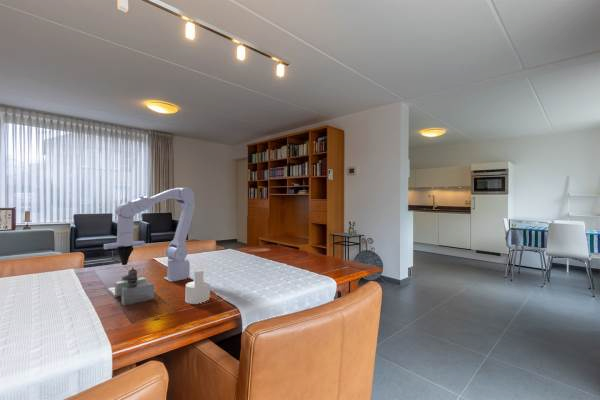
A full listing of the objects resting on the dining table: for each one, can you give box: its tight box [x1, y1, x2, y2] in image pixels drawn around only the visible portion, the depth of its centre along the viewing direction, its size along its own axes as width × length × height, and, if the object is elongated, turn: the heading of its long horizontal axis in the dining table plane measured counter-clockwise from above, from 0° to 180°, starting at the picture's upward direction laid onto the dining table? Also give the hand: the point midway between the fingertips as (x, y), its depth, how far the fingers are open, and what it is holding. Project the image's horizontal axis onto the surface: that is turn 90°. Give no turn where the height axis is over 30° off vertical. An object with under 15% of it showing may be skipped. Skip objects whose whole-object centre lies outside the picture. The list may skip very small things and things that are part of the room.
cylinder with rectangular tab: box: [184, 265, 211, 305], centre depth 106 cm, size 9×9×12 cm
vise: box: [107, 281, 155, 307], centre depth 109 cm, size 10×22×6 cm, turn 47°
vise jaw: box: [114, 274, 147, 297], centre depth 110 cm, size 10×6×6 cm, turn 137°
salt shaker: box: [127, 267, 139, 287], centre depth 105 cm, size 6×6×12 cm
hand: (124, 264), depth 115 cm, fingers closed
